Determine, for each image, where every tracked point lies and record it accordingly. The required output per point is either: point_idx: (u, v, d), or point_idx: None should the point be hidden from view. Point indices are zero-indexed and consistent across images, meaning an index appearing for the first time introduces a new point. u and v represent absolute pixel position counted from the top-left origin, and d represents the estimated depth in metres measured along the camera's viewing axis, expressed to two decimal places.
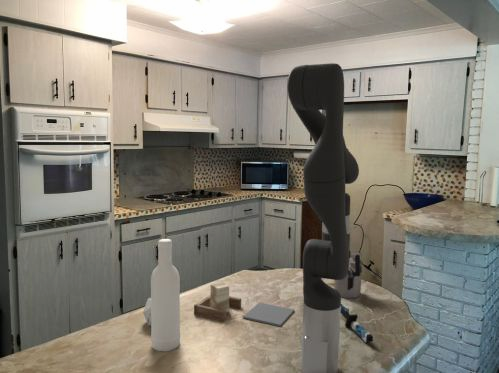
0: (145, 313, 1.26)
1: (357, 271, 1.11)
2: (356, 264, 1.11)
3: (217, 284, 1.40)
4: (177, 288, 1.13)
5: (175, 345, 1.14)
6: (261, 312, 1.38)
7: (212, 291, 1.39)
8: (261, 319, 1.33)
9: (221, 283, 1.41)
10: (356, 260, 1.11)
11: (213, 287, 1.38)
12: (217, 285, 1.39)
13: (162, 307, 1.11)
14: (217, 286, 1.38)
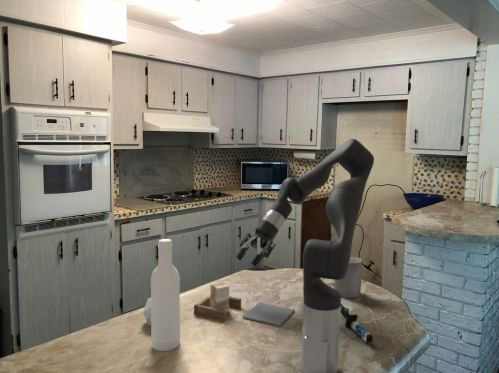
0: (145, 313, 1.26)
1: None
2: None
3: (217, 284, 1.40)
4: (177, 288, 1.13)
5: (175, 345, 1.14)
6: (261, 312, 1.38)
7: (212, 291, 1.39)
8: (261, 319, 1.33)
9: (221, 283, 1.41)
10: None
11: (213, 287, 1.38)
12: (217, 285, 1.39)
13: (162, 307, 1.11)
14: (217, 286, 1.38)
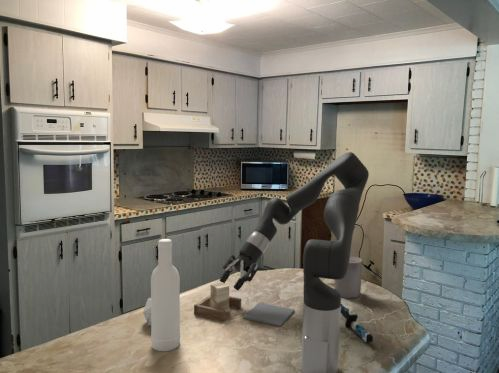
0: (145, 313, 1.26)
1: None
2: None
3: (217, 284, 1.40)
4: (177, 288, 1.13)
5: (175, 345, 1.14)
6: (261, 312, 1.38)
7: (212, 291, 1.39)
8: (261, 319, 1.33)
9: (221, 283, 1.41)
10: None
11: (213, 287, 1.38)
12: (217, 285, 1.39)
13: (162, 307, 1.11)
14: (217, 286, 1.38)
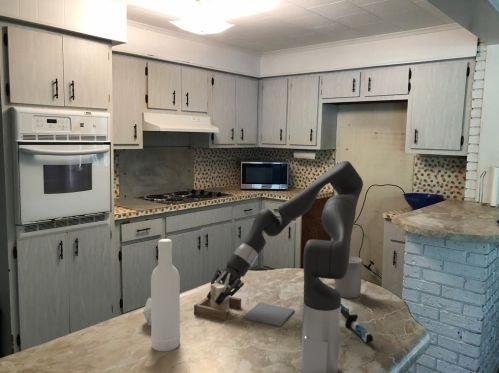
0: (145, 313, 1.26)
1: None
2: None
3: (217, 284, 1.40)
4: (177, 288, 1.13)
5: (175, 345, 1.14)
6: (261, 312, 1.38)
7: (212, 291, 1.39)
8: (261, 319, 1.33)
9: (221, 283, 1.41)
10: None
11: (213, 287, 1.38)
12: (217, 285, 1.39)
13: (162, 307, 1.11)
14: (217, 286, 1.38)
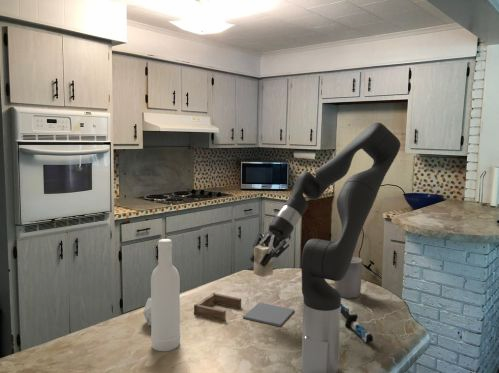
0: (145, 313, 1.26)
1: None
2: None
3: (260, 246, 1.36)
4: (177, 288, 1.13)
5: (175, 345, 1.14)
6: (261, 312, 1.38)
7: (256, 253, 1.35)
8: (261, 319, 1.33)
9: (264, 245, 1.37)
10: None
11: (257, 249, 1.34)
12: (261, 247, 1.35)
13: (162, 307, 1.11)
14: (261, 248, 1.34)
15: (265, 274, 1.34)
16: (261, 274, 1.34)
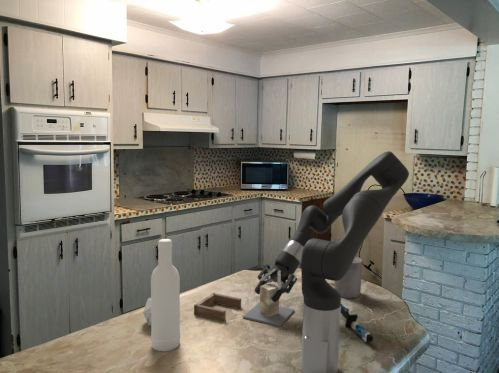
0: (145, 313, 1.26)
1: None
2: None
3: (267, 285, 1.37)
4: (177, 288, 1.13)
5: (175, 345, 1.14)
6: None
7: (262, 293, 1.36)
8: (261, 319, 1.33)
9: (270, 284, 1.38)
10: None
11: (263, 289, 1.36)
12: (267, 286, 1.36)
13: (162, 307, 1.11)
14: (267, 287, 1.35)
15: (271, 314, 1.35)
16: (267, 314, 1.35)
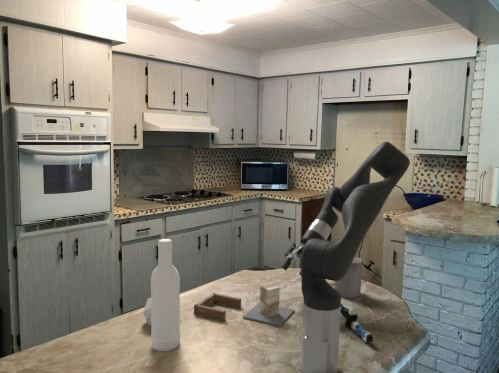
0: (145, 313, 1.26)
1: None
2: None
3: (267, 285, 1.37)
4: (177, 288, 1.13)
5: (175, 345, 1.14)
6: None
7: (262, 293, 1.36)
8: (261, 319, 1.33)
9: (270, 284, 1.38)
10: None
11: (263, 289, 1.36)
12: (267, 286, 1.36)
13: (162, 307, 1.11)
14: (267, 287, 1.35)
15: (271, 314, 1.35)
16: (267, 314, 1.35)
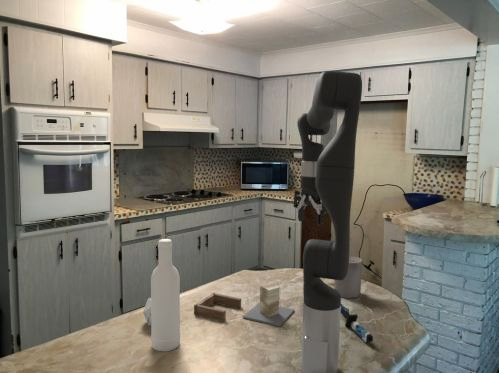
0: (145, 313, 1.26)
1: None
2: None
3: (267, 285, 1.37)
4: (177, 288, 1.13)
5: (175, 345, 1.14)
6: None
7: (262, 293, 1.36)
8: (261, 319, 1.33)
9: (270, 284, 1.38)
10: None
11: (263, 289, 1.36)
12: (267, 286, 1.36)
13: (162, 307, 1.11)
14: (267, 287, 1.35)
15: (271, 314, 1.35)
16: (267, 314, 1.35)
